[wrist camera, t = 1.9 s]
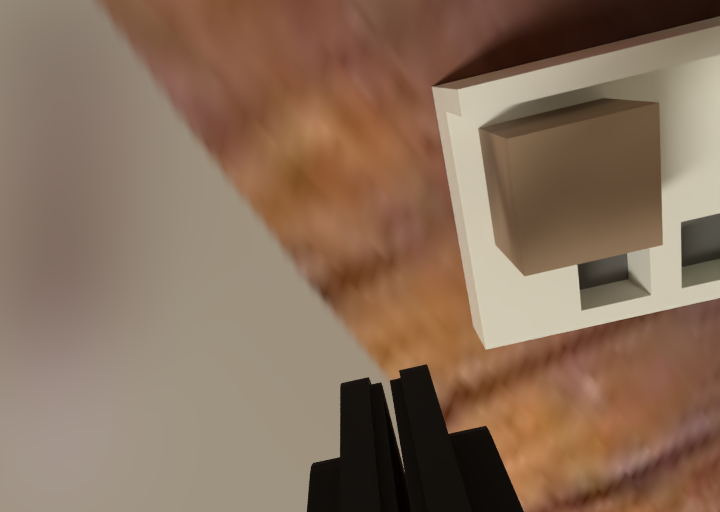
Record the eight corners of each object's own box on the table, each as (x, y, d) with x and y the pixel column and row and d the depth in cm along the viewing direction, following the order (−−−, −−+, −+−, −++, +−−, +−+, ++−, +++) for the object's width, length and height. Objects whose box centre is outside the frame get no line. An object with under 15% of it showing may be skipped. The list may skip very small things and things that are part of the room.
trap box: (431, 86, 24) (457, 89, 18) (819, -9, 23) (960, -34, 18) (473, 326, 28) (503, 383, 23) (800, 253, 27) (908, 295, 22)
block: (477, 128, 22) (506, 138, 18) (603, 98, 22) (659, 102, 18) (495, 244, 24) (524, 276, 20) (611, 218, 23) (662, 245, 20)
